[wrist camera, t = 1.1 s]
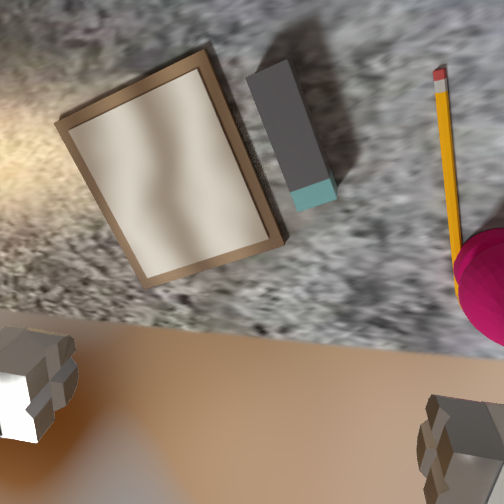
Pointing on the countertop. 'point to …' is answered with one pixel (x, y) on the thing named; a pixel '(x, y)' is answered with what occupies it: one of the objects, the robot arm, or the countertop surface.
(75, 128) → the board
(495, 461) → the robot arm
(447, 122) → the pencil
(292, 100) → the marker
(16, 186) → the countertop surface
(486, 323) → the pepper mill
